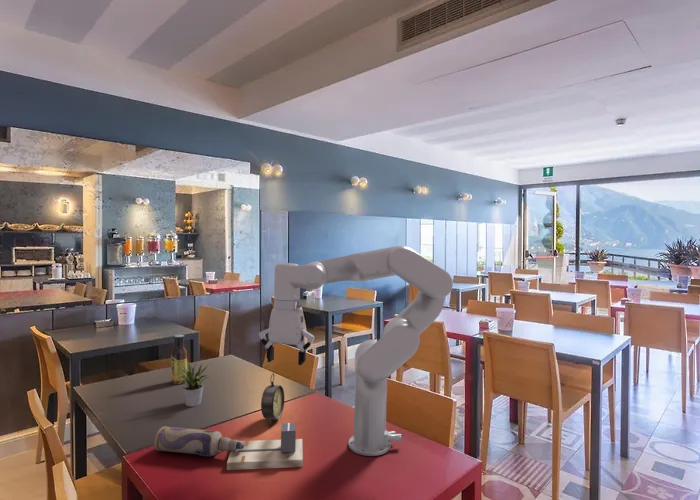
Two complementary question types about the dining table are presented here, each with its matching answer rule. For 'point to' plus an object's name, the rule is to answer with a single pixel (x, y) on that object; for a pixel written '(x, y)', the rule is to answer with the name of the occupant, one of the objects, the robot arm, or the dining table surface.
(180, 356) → the sauce bottle
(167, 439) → the decorative bottle
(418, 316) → the robot arm
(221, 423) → the dining table surface
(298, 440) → the fader board
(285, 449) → the fader slider
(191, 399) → the house plant
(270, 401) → the alarm clock
